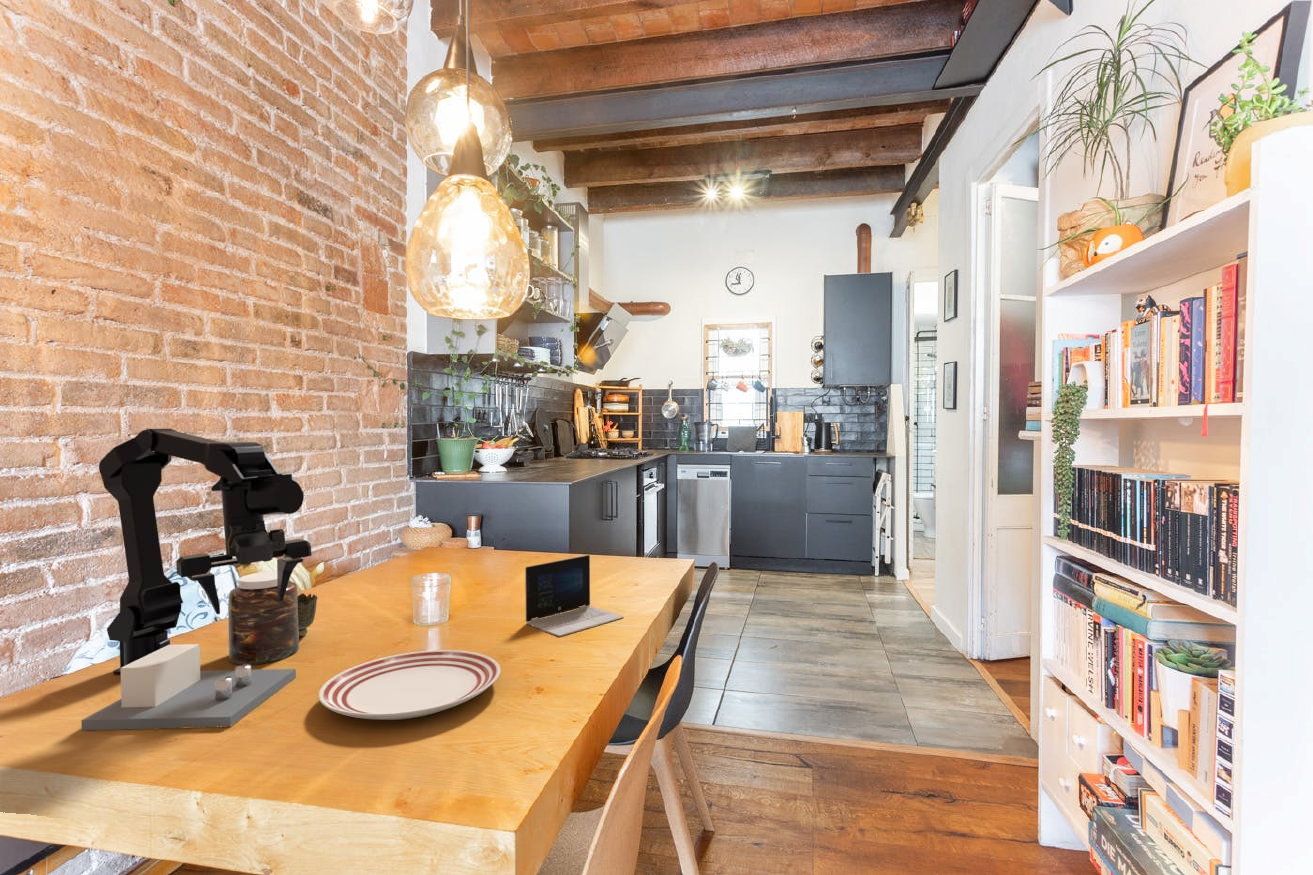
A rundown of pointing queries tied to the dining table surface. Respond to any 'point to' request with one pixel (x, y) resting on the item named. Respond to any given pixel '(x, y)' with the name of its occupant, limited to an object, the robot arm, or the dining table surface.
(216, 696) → the stubs
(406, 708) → the dinner plate
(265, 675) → the board
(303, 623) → the cup
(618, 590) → the dining table surface
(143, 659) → the housing
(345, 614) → the dining table surface
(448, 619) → the dining table surface
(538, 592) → the laptop
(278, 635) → the jar
